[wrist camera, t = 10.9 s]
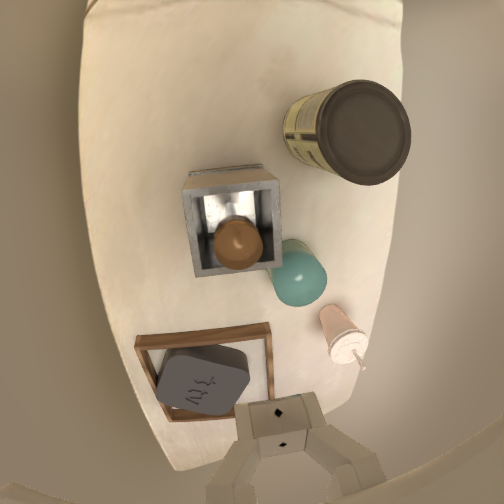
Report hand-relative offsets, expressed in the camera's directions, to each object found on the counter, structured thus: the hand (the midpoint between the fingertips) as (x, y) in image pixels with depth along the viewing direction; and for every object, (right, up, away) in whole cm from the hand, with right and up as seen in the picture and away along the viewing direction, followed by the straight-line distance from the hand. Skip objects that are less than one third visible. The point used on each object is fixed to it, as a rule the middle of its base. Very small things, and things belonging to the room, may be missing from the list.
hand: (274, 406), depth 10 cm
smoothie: (+12, -5, +39) cm, 41 cm away
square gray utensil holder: (-4, +13, +29) cm, 32 cm away
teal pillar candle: (+5, +4, +34) cm, 34 cm away
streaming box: (-10, -16, +41) cm, 45 cm away
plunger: (-4, +12, +27) cm, 30 cm away
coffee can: (+8, +22, +27) cm, 36 cm away
